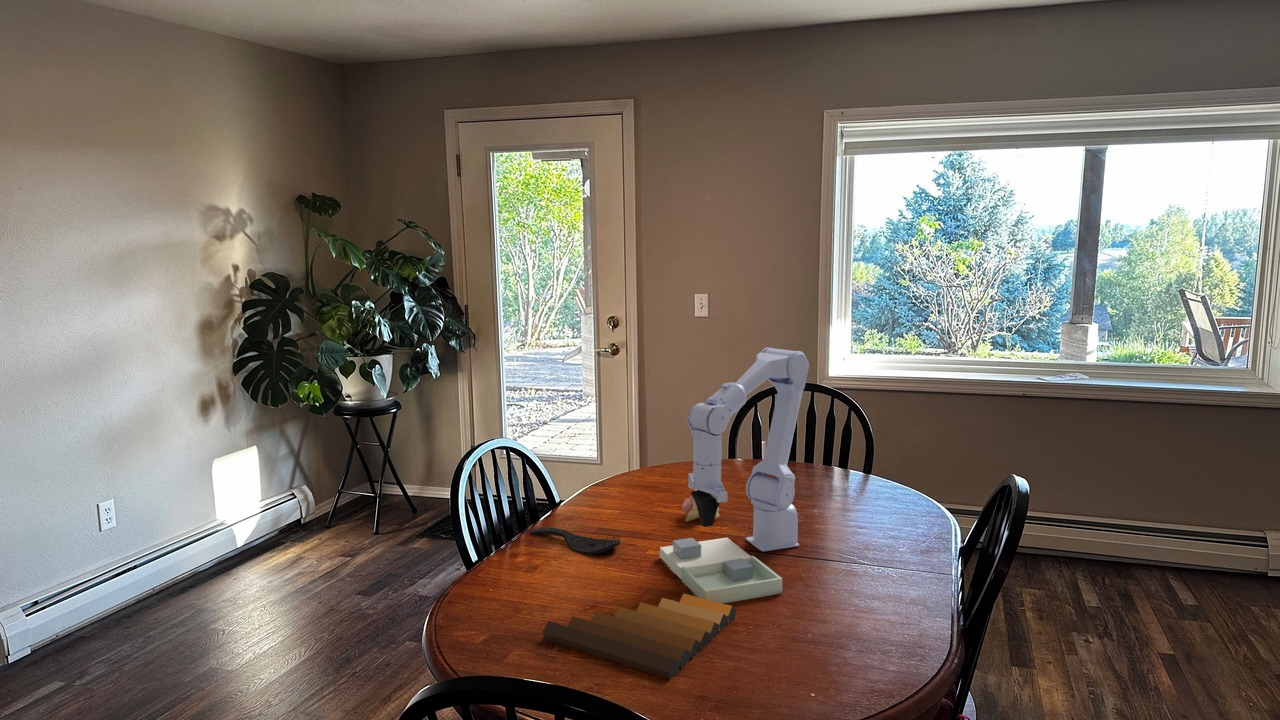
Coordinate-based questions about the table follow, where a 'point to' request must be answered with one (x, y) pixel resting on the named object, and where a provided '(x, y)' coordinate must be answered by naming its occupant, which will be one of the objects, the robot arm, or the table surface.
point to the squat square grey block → (737, 569)
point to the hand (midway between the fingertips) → (707, 525)
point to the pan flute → (647, 633)
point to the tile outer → (687, 548)
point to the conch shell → (692, 509)
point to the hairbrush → (580, 541)
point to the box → (734, 584)
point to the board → (705, 557)
